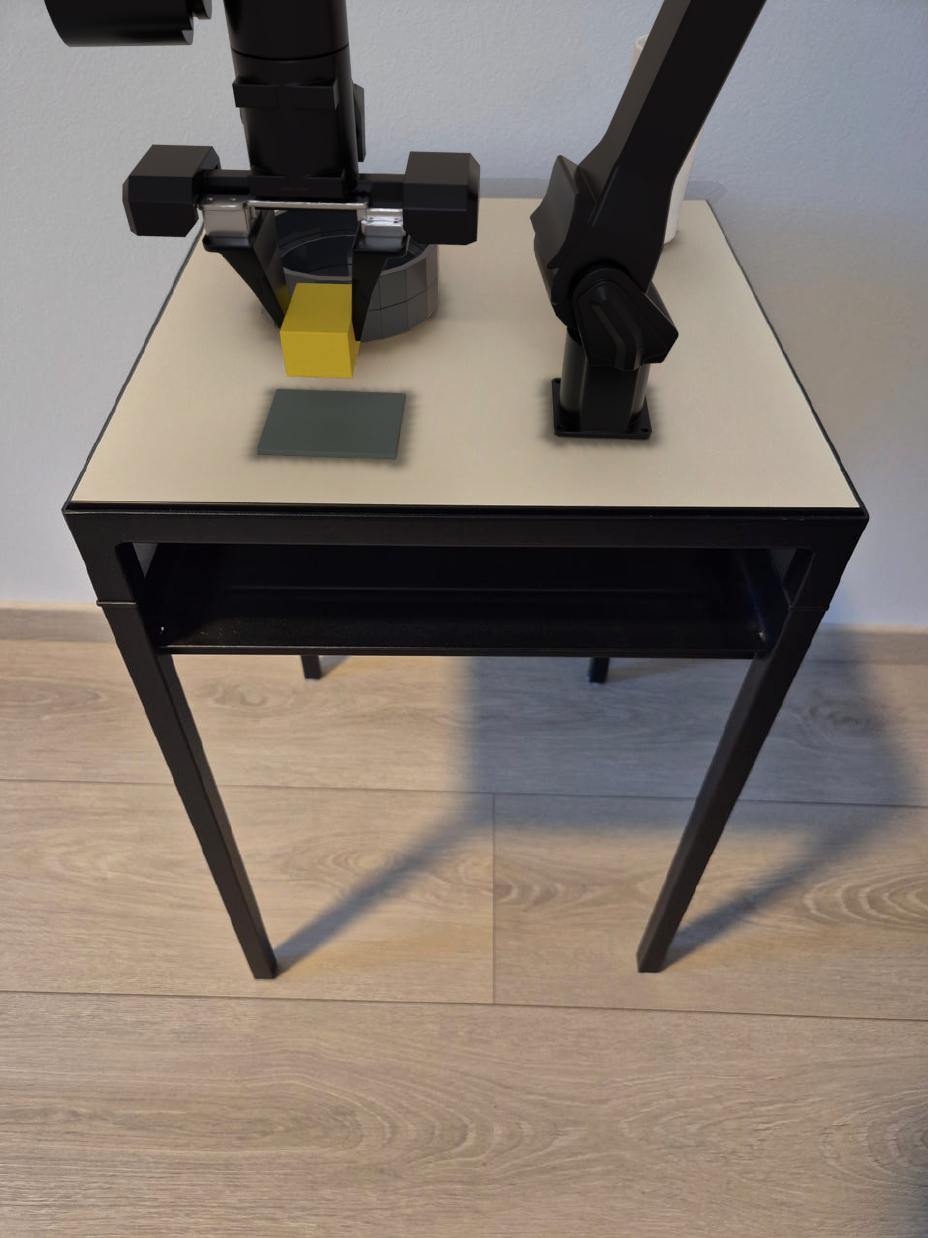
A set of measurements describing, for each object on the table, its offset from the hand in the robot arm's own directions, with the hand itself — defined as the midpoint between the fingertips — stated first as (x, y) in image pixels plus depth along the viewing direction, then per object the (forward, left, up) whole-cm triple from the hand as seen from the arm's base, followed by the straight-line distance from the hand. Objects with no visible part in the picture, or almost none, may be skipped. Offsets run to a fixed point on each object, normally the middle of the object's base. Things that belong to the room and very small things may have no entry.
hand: (324, 336), depth 53 cm
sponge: (0, 0, -1) cm, 1 cm away
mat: (0, 0, -6) cm, 7 cm away
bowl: (+16, +1, -6) cm, 18 cm away
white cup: (+30, -24, -7) cm, 39 cm away
